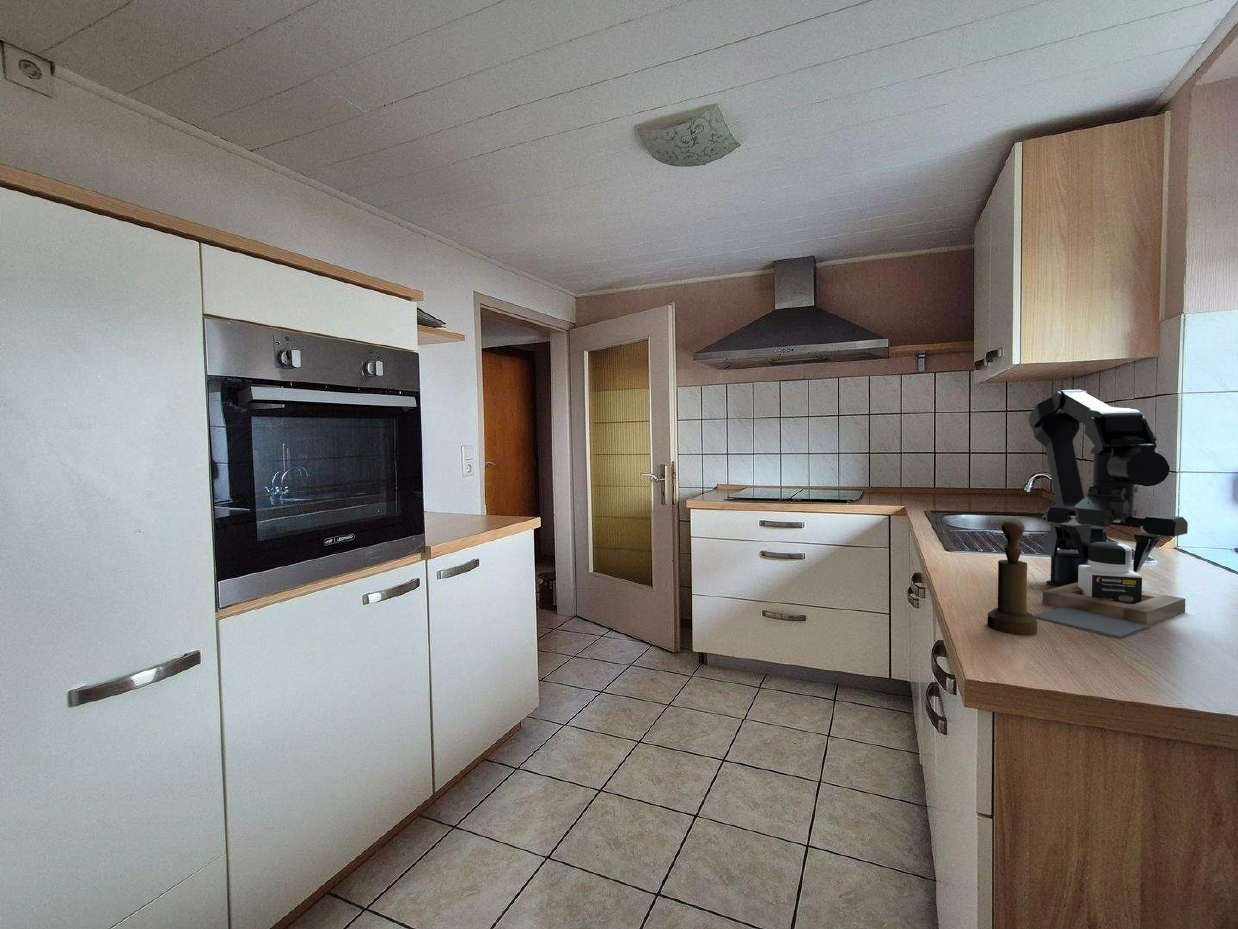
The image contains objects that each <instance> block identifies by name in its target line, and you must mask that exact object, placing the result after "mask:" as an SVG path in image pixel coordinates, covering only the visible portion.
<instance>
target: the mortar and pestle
mask: <svg viewBox="0 0 1238 929" xmlns="http://www.w3.org/2000/svg"><path fill="white" fill-rule="evenodd" d="M1001 532H1002V533H1003V535H1004V536H1005V538H1006V541H1007V544H1006V545H1005V546H1003V547H1004V552H1005V557H1006V558H1007V559H999V560H998V561H997V578H998V579H997V607H996V608H993V609H992V610H991V611H989V612H988V613H987V623H986V626H987V627H988V628H989V629H990V630H991V629H992V630H993V631H996V632H1000V633H1003V634H1009V635H1015V636H1033V635H1036V634H1037V633H1038V619H1037V618H1035V617H1033V614H1032V613H1030V612H1028V598H1027V596H1028V587H1027V586H1028V562H1026V561H1021V560H1019V559H1020V556H1021V553H1022V547H1021V546H1020V545H1019V540H1020V539H1021V537H1022V536H1023V534H1024V532H1025V525H1024V523H1023V522H1022V521H1020V520H1019V519H1016V518H1009V519H1005V520H1004V521H1003V522H1002V524H1001Z"/></svg>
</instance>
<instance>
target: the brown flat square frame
mask: <svg viewBox="0 0 1238 929" xmlns="http://www.w3.org/2000/svg"><path fill="white" fill-rule="evenodd" d="M1042 604H1044V605H1048V606H1054V607H1056V608H1060V607H1067V608H1072V609H1077V610H1081V611H1086V612H1091V613H1095V614H1100V615H1105V616H1109V617H1114V618H1119V619H1123V620H1128V621H1132V622H1137V623H1142V624H1146V625H1149V627H1150V626H1152V625H1154V624H1158V623H1160V622H1163V621H1166V620H1168V619H1172V618H1174V617H1176V616H1177V617H1178V616H1179V615H1182V614H1184V613H1186V598H1183V597H1179V596H1173V595H1167V594H1161V593H1156V592H1150V591H1145V590H1142V602H1139V603H1136V604H1133V605H1131V604H1126V603H1120V602H1115V601H1110V600H1105V599H1100V598H1095V597H1090V596H1085V595H1082V589H1081V588H1079V587H1078V582H1076V583H1072V584H1069V585H1065V586H1058V587H1054V588H1050V589H1046V590H1043V591H1042ZM1181 613H1182V614H1181Z"/></svg>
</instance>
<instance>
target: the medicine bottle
mask: <svg viewBox="0 0 1238 929" xmlns="http://www.w3.org/2000/svg"><path fill="white" fill-rule="evenodd" d="M1132 554H1133V549H1132V548H1131V547H1130V546H1128V545H1126V544H1124V543H1120V542H1110V541H1106V542H1094V543H1091V544H1089V545H1088V564H1090V565H1079V567H1078V587H1079V588H1081V589H1082V595H1085V596H1090V597H1095V598H1100V599H1105V600H1110V601H1115V602H1120V603H1126V604H1131V605H1133V604H1136V603H1139V602H1142V591H1143V590H1142V589H1143V576H1142V575H1141V574H1139V573H1138V572H1134V571H1133V570H1130V569H1131V568H1132V563H1133V562H1132V558H1133V557H1132Z"/></svg>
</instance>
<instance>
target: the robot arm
mask: <svg viewBox="0 0 1238 929" xmlns="http://www.w3.org/2000/svg"><path fill="white" fill-rule="evenodd" d="M1028 424H1029V427H1030V428H1031V429H1032V432H1033V436H1034V438H1035V439H1036V440H1037V441H1038V442H1039V443H1040V444H1041V445H1042V446H1044V447H1045V451H1046V457H1047V462H1048V467H1049V474H1050V477H1051V483H1052V488H1053V494H1054V499H1055V505H1054V506H1050V507H1048V508H1046V511H1045V519H1044V520H1045V522H1049V526H1050V528H1049V531H1048V532H1047V533H1046V536H1045V538H1044V539H1043V541H1042V549H1043V553H1045V554H1047V555H1048V556H1050V579H1048V580H1046V584H1048V585H1053V586H1058V587H1061V586H1065V585H1069V584H1072V583H1076V582H1078V567H1079V565H1090V564H1088V545H1089V544H1091V543H1094V542H1107V539H1108V536H1107V533H1106V531H1105V528H1106V527H1107V528H1108V527H1109V526H1111V525H1112V526H1121V527H1129V528H1130V527H1131V528H1139V529H1140V532H1139V533H1135V534H1133V535H1134V536H1133V537H1134V539H1135V548H1134V549H1135V550H1134V556H1133V562H1132V566H1133V568H1132V569H1133V570H1132V571H1133V572H1135V573H1139V572H1140V570H1141V568H1142V567H1143V565H1144V563H1145V562H1146V561H1147V559H1148V557H1149V556H1150V554H1151V552H1152V551H1153V549H1154V548H1155V547H1156V546H1157V544H1158V543H1159V542H1160V541H1161V539H1166V538H1171V537H1172V538H1173V537H1174V538H1175V537H1178V536H1183V535H1187V534H1188V530H1189V529H1188V527H1189V526H1188V525H1189V523H1188V521H1187V520H1186V519H1185V517H1184V516H1176V515H1168V514H1167V515H1166V514H1165V515H1164V514H1153V515H1148V516H1145V517H1139V516H1137V509H1135V494H1136V493H1138V489H1139V488H1138V486H1140V487H1154V486H1156V485H1159V484H1161V483H1162V482H1164V481H1165V480H1166V479H1167V477H1169V476H1168V475H1169V473H1170V470H1171V468H1170V465H1169V462H1168V460H1167V459H1166V458H1165V457H1164V456H1163V455H1162V454H1161V453H1159V452H1156V451H1155V450H1156V449H1157V447H1158V446H1157V442H1156V441H1157V440H1158V439H1157V437H1156V436H1155V434H1154V432H1153V431H1152V429H1151V428H1150V426H1149V422H1148V420H1147V419H1146V417H1145V416H1144V414H1143V413H1142V412H1141V411H1140V410H1138V409H1133V408H1128V407H1114V406H1110V405H1108V404H1107V403H1105V402H1103V401H1100V400H1099V399H1097V398H1095V397H1094V396H1092V395H1090V394H1088V392H1087V390H1083V389H1064V390H1063V389H1062V390H1061V389H1060V390H1059V391H1056V392H1054V393H1053V395H1052V396H1051V397H1049V398H1047V399H1045V400H1043V401H1041V402H1039V403H1037V404H1035V406H1034V408H1033V409H1032V411H1031V412H1030V414H1029V416H1028ZM1081 424H1083V425H1084V427H1085V428H1084V431H1083V432H1084V434H1085V435H1086V436H1087V437H1088V439H1089V440H1090V442H1091V443H1092V444H1093V446H1094V447H1092V448H1091V449H1090V454H1092V455H1093V463H1092V464H1093V467H1092V468H1093V469H1092V485H1089V488H1088V491H1087V495H1086V497H1085V493H1084V487H1083V485H1082V484H1083V483H1082V479H1081V474H1080V470H1079V465H1078V461H1077V455H1076V454H1077V453H1076V450H1075V445H1074V439H1075V438H1076V436H1077V434H1078V432H1079V430H1080V428H1081V426H1080V425H1081Z"/></svg>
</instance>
